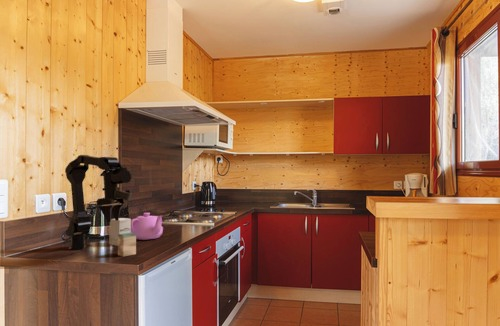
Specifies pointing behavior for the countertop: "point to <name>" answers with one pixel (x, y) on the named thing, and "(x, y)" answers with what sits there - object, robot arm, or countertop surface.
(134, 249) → the birch block
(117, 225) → the supplement box
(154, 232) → the teapot
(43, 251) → the countertop surface
